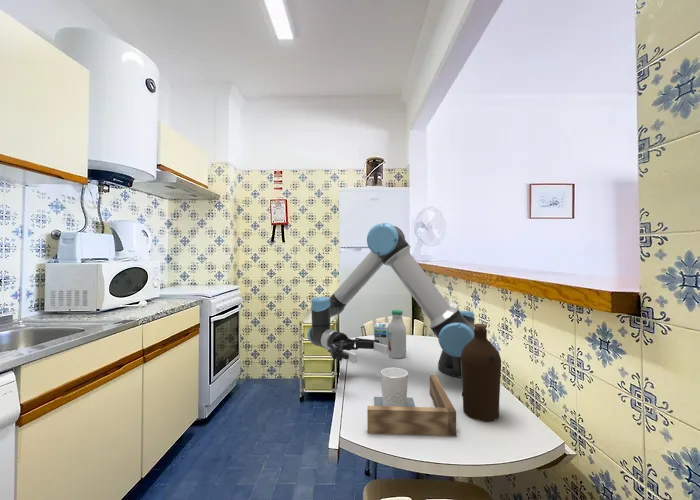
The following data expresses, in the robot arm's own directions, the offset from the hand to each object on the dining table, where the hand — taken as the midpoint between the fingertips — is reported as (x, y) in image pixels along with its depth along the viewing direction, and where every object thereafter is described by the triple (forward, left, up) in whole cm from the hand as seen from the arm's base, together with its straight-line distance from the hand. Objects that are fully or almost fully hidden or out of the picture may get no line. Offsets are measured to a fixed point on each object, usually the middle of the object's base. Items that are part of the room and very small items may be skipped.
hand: (372, 354), depth 104 cm
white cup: (-6, +10, -12) cm, 17 cm away
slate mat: (-6, +10, -12) cm, 17 cm away
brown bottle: (-30, +12, -13) cm, 35 cm away
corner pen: (-9, +12, -12) cm, 19 cm away
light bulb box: (-5, -51, -13) cm, 53 cm away
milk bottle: (-11, -37, -13) cm, 41 cm away
